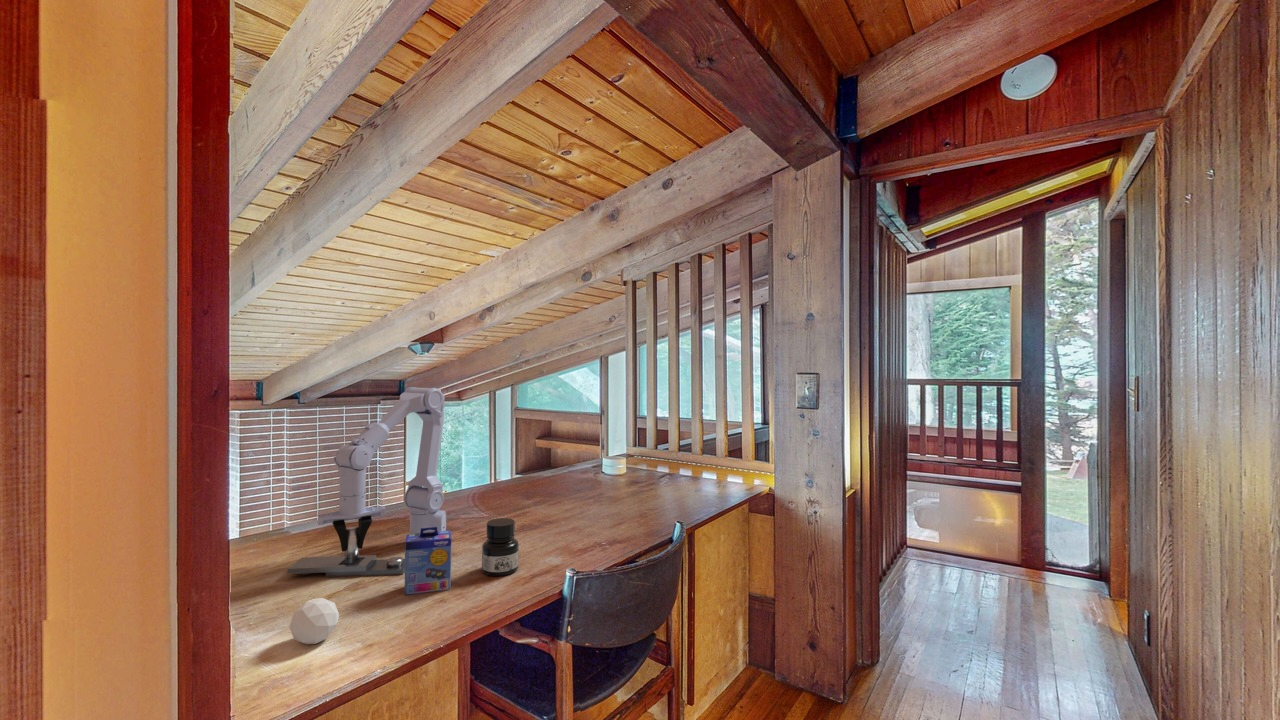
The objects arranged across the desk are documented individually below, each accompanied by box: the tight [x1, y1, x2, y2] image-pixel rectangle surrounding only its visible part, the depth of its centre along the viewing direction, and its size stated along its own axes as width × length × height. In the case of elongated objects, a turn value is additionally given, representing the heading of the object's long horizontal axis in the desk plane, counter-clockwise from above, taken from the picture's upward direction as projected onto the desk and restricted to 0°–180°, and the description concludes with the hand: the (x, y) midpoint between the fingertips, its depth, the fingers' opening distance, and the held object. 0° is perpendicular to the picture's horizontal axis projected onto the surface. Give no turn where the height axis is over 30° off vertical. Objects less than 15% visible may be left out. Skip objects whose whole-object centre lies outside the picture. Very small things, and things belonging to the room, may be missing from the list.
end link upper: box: [287, 554, 377, 576], centre depth 130 cm, size 18×7×2 cm, turn 98°
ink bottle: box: [481, 517, 520, 577], centre depth 133 cm, size 10×9×12 cm
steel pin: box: [344, 526, 360, 563], centre depth 131 cm, size 3×3×8 cm
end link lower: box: [325, 556, 405, 578], centre depth 132 cm, size 18×7×2 cm, turn 98°
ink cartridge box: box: [404, 527, 452, 596], centre depth 122 cm, size 10×6×14 cm, turn 111°
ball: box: [288, 597, 340, 645], centre depth 99 cm, size 8×8×8 cm
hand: (351, 548), depth 131 cm, fingers closed on steel pin, 3 cm apart
